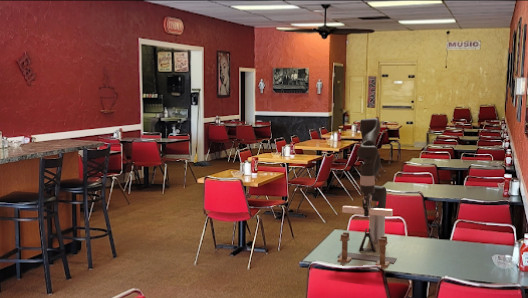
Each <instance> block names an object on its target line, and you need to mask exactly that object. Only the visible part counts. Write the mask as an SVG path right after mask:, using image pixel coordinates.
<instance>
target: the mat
mask: <svg viewBox="0 0 528 298" xmlns="http://www.w3.org/2000/svg"><path fill="white" fill-rule="evenodd" d="M340 256H342V251H341V252H340V253H339V254H338V255H337V258H339V257H340ZM347 257H351V258H352V259H351V260H358V261H359V260H360V261H367V262H375V263H377V261H380V255H374V254H365V253H359V252H358V253H357V252H349V251H347ZM396 261H397V257H391V256H385V262H389V264H393V265H394V264H395V263H396Z"/></svg>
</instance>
